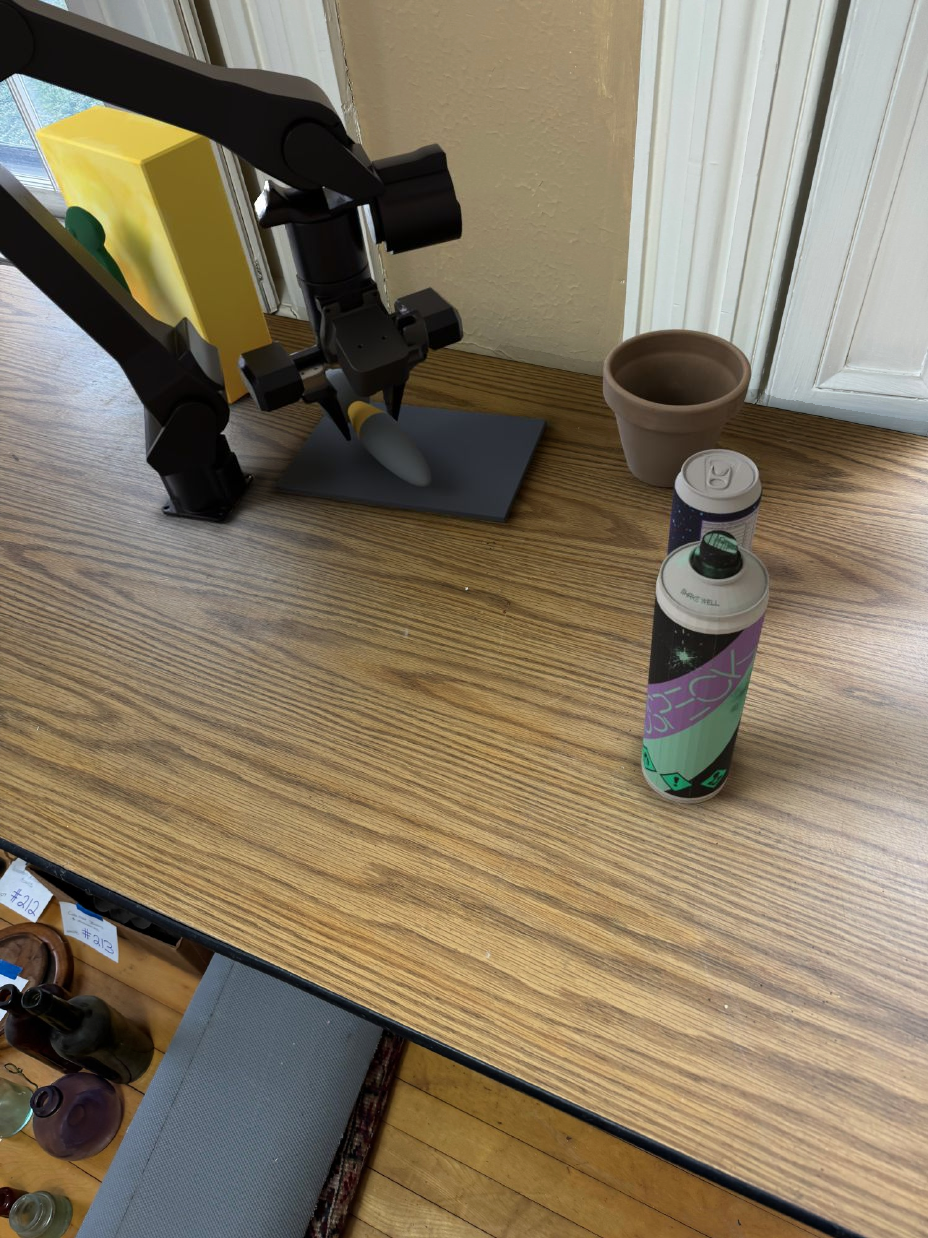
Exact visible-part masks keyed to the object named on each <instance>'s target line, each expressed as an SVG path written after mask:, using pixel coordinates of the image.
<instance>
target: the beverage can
mask: <svg viewBox="0 0 928 1238" xmlns="http://www.w3.org/2000/svg"><path fill="white" fill-rule="evenodd" d="M672 488H673V490H672V498H671V500H672V501H671V508H670V509H671V510H670V511H671V512H670V520H669V522H670V523H669V531H668V541H667V552H666V557H667V556H668V555H669V554H670V553H671V552H672V551H674V550H676V549H677V548H679V547H681V546H683V545H686V544H688V543H693V542H697V541H702V538H703V536H704V535H705V534H706V533H708V532H710V531H714V530H722V531H726V532H729V533H730V534H732V535H733V536H734V537H735V539H736V540H737V543H738V546H740V547H743V548H745V549H747V550H748V551H750V552H751V553H752V547H753V542H754V538H755V533H756V527H757V524H758V523H757V521H758V517H759V511H760V506H761V502H762V496H763V484H762V481H761V479H760V472H759V469H758V466H757V465H756V463H755V462H754V461H753V460H752V459H751V458H749V457H748V456H746V455H744V454H743V453H740V452H738V451H735V450H730V449H722V448H714V449H712V450H706V451H702V452H699V453H696V454H694V455H693V456H691V457H689V458H688V459H687V460H686V461H685V463H684V464H683V466H682V469H681V472H680V473H679V474H678V476H677V477H676V479H675V482H674V487H672Z"/></svg>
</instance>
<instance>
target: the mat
mask: <svg viewBox="0 0 928 1238" xmlns="http://www.w3.org/2000/svg"><path fill="white" fill-rule="evenodd" d="M369 405H372V406H374V407H376V408H378V409H380V410H382V411H384V412H386V413H387V414H388V412H387V409H386V406H385V402H379V401H370V404H369ZM547 423H548V422H547V419H544V418H537V417H535V418H534V417H525V416H516V415H506V414H498V413H497V414H496V413H495V414H494V413H487V412H476V411H466V410H457V409H449V408H439V407H428V406H427V407H426V406H416V405H410V404H409V405H408V404H401V408H400V413H399V417H398V424H399V425H400V426H401V427H402V428H403V429H404V430H405V431H406V433H407V434H408V435H409V436H410V438H411V439H412V440H413V442H414V443H415V444H416V446H417V447H418V449H419V451H420V452H421V454H422V455H423V457H424V459H425V461H426V463H427V465H428V467H429V470H430V473H431V484H430V485H429V486H427V487H419V486H416V485H413V484H411V483H409V482H407V481H405V480H403V479H402V478H400V477H398V476H397V475H395V474H394V473H392V472H391V471H390V470H389V469H387V468H386V467H385V466H383V465H382V464H381V463H380V462H379V461H378V460H377V459H375V458H374V457H373V456H372V455H371V454H370V453H369V452H368V450H367V449H366V448H365V447H364V446H363V445H362V443H361V442H360V440H359V438H358V436H357V434H356V432H355V430H354V427H353V425H352V423H347V424H348V426H349V430H350V435H351V440H350V441H347V440H346V439H345V437H344V436H343V434H342V433H341V431H340V430H339V429H338V427H337V426H336V424H335V423H334V421H332V420H330V419H329V418H327V417H326V416H325V415H324V414H323V416H322V418H321V419H320V420H319V422H318V423H317V425H316V426H315V428H314V429H313V430H312V432H311V433H310V435H309V436H308V437H307V439H306V440H305V442H304V444H303V445H302V446H301V448H300V449H299V450H298V452H297V454H296V455H295V457H294V458H293V459H292V460H291V462H290V464H289V465H288V467H286V470H285V471H284V472H283V474H282V475H281V476H280V478H279V480H278V481H277V482H276V483H275V485H274V488H275V490H276V492H281V493H288V494H295V495H303V496H308V497H309V496H310V497H317V498H323V499H324V498H325V499H332V500H339V501H345V502H354V503H360V504H365V505H375V506H382V507H389V508H397V509H404V510H410V511H418V512H425V513H431V514H439V515H444V516H445V515H446V516H453V517H460V518H467V519H474V520H481V521H487V522H488V521H489V522H495V523H503V524H505V523H506V521H507V519H508V516H509V515H510V512H511V509H512V507H513V504H514V502H515V500H516V497H517V495H518V493H519V490H520V488H521V486H522V484H523V481H524V479H525V476H526V474H527V472H528V469H529V467H530V465H531V463H532V461H533V458H534V456H535V453H536V451H537V448H538V446H539V444H540V441H541V438H542V437H543V434H544V432H545V429H546V427H547Z"/></svg>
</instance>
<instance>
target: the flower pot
mask: <svg viewBox="0 0 928 1238" xmlns="http://www.w3.org/2000/svg"><path fill="white" fill-rule="evenodd" d="M602 376H603V377H602V393H603V398H604V400H605V403H606V404H607V406H608V407H609V408H610V410H612V412H613V413H614V415H615V419H616V424H617V429H618V434H619V438H620V442H621V447H622V450H623V454H624V457H625V460H626V464H627V467H628V469H629V471H630V472H631V474H632V475H633V476H634V477H635V478H636V479H637V480H639V481H640V482H642V483H644V484H647V485H648V486H653V487H658V488H674V482H675V479H676V477H677V476H678V474H679V473H680V472H681V469H682V466H683V464H684V463H685V461H686V460H687V459H688V458H689V457H691V456H693V455H694V454H696V453H699V452H702V451H706V450H712V449H716V446H717V443H718V441H719V439H720V437H721V434H722V433H723V430H724V427H725V425H726V423H727V422H728V421H730V420H731V419H733V417H735V416H736V415H737V414H738V413H739V411H740V410H741V409H742V407H743V406H744V404H745V401H746V398H747V394H748V391H749V386H750V382H751V379H752V367H751V364H750V360H749V359H748V357H747V356H746V354H745V353H744V352H743V351H742V350H741V349H740V348H739V347H738V346H737V345H735V344H734V343H732V342H730V341H728V340H727V339H724V338H723V337H720V336H717V335H715V334H711V333H708V332H705V331H699V330H692V329H684V328H683V329H681V328H679V329H677V328H676V329H675V328H671V329H669V328H668V329H659V330H652V331H648V332H643V333H639V334H637V335H634V336H632V337H629V338H627V339H625V340H624V341H622V342H620V343H619V344H616V346H615V347H614V348H612V349H611V350H610V352H609V353H608V355H607V356H606V358H605V359H604V362H603V368H602Z"/></svg>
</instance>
